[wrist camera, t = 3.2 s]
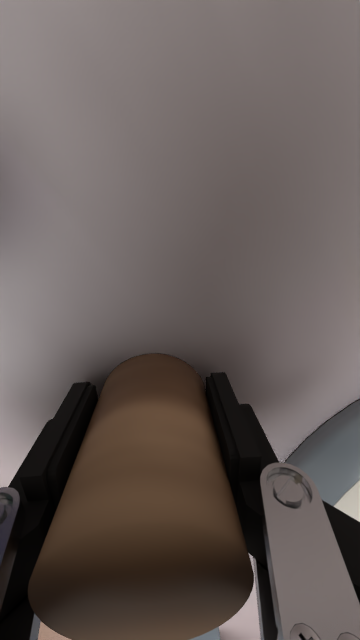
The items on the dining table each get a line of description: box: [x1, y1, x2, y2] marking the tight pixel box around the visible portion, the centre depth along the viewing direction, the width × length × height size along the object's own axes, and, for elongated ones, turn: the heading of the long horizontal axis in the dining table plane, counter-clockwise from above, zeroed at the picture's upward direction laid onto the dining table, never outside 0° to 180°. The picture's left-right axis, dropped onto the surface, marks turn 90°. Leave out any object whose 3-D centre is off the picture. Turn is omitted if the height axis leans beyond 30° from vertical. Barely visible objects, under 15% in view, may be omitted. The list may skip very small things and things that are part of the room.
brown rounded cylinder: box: [28, 354, 254, 640], centre depth 8 cm, size 4×4×6 cm
